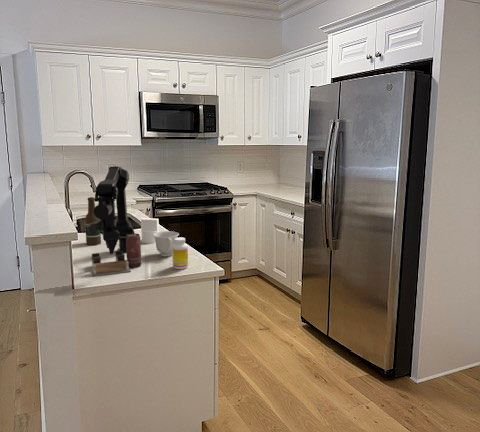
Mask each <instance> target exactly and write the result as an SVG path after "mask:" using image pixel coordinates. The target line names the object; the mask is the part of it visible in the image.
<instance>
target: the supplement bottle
mask: <svg viewBox="0 0 480 432" xmlns="http://www.w3.org/2000/svg"><path fill="white" fill-rule="evenodd" d="M174 242H175V244H174V245H173V246H172V255H171V256H172V268H173V269H175V270H184V269H185V270H186V269H187V268H188V266H189V258H188V257H189V255H188V253H189V248H188V244H187V243H186V238H185V237H182V236H181V237H177V238H175V239H174Z"/></svg>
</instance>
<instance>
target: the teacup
mask: <svg viewBox="0 0 480 432" xmlns="http://www.w3.org/2000/svg"><path fill="white" fill-rule="evenodd" d="M179 235H180V233H179V232H176V231H173V230H172V231H171V230H169V231H167V230H164V231H159V232H157V233H155V234H153V236H154V237H155V242H156V243H155V246H156V247H155V248H156V250H157V252H159V253H160V256H161V257H170V256H172V246H173V245H174V244H175V242H174V239H175V238H178V236H179Z"/></svg>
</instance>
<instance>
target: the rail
mask: <svg viewBox="0 0 480 432" xmlns="http://www.w3.org/2000/svg"><path fill="white" fill-rule="evenodd" d="M129 269H130V267H129V262H128V260H127V259H125V260H123V261H116V260H114V261H108V262H107V261H106V262H101V263H97V264H93V266H92V270H93V273H94V274H96V273H104V272H112V271H120V270H129Z"/></svg>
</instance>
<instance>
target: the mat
mask: <svg viewBox="0 0 480 432" xmlns="http://www.w3.org/2000/svg"><path fill="white" fill-rule="evenodd" d="M124 273H131V268H129V270H120V271H112V272H104V273H96V274H94V273H93V269H92V270H91V274H92V278H93V277H100V276H109V275H117V274H118V275H119V274H124Z"/></svg>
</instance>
